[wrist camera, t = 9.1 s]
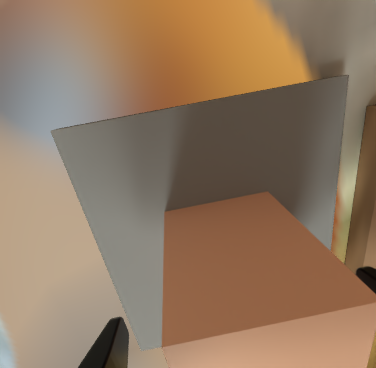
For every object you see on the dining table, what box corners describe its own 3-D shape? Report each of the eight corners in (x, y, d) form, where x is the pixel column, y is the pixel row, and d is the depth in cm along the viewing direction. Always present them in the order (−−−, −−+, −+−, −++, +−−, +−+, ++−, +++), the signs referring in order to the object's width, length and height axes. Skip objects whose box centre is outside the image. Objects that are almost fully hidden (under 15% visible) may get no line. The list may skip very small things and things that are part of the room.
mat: (318, 304, 15) (324, 313, 14) (142, 341, 14) (141, 351, 14) (337, 76, 9) (348, 74, 9) (57, 128, 9) (50, 130, 9)
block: (270, 270, 12) (355, 414, 7) (183, 288, 12) (197, 448, 7) (267, 191, 10) (382, 301, 5) (164, 211, 10) (161, 347, 5)
